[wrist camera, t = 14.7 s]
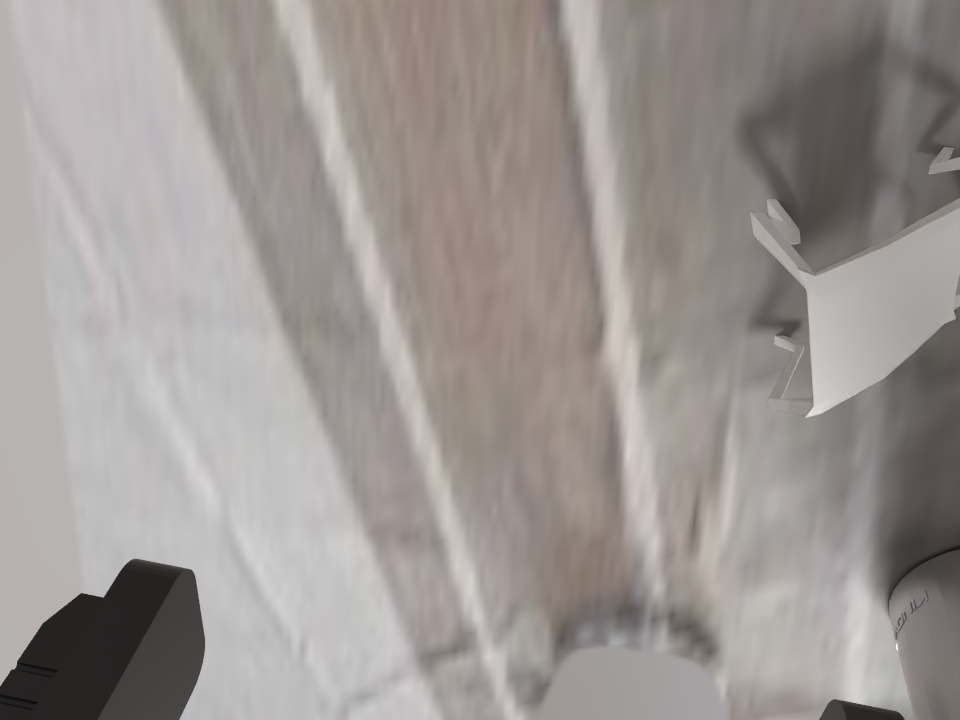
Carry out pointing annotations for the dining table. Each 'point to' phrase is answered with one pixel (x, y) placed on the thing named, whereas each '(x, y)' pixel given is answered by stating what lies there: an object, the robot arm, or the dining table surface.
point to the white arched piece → (867, 301)
